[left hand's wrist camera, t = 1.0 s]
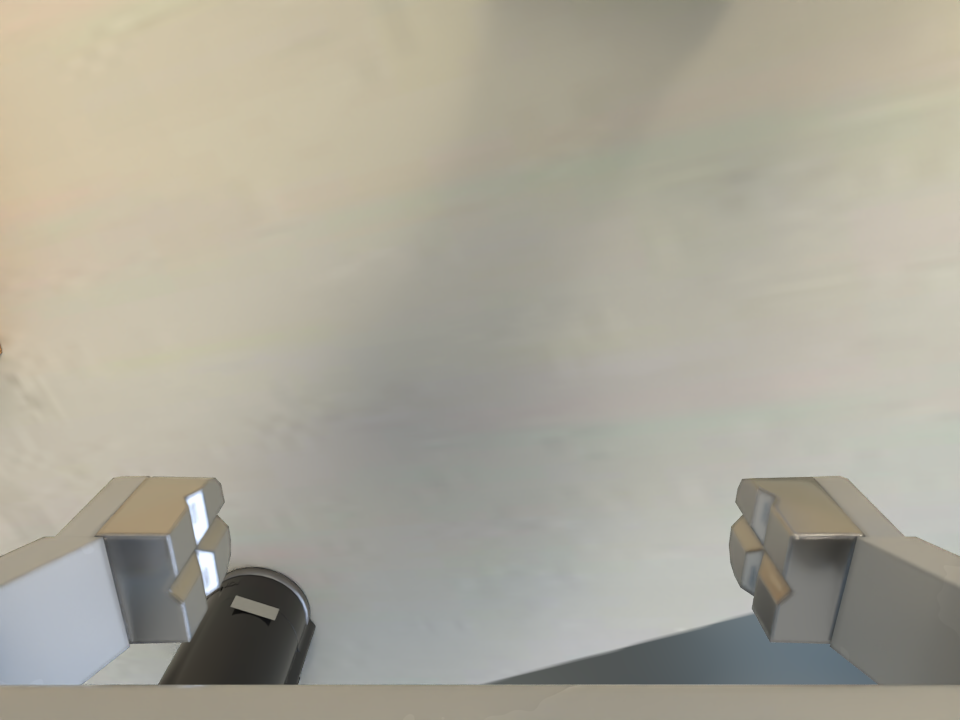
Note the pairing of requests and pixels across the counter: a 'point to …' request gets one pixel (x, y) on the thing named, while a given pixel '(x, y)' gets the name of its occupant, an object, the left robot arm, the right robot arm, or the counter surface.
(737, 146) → the counter surface
